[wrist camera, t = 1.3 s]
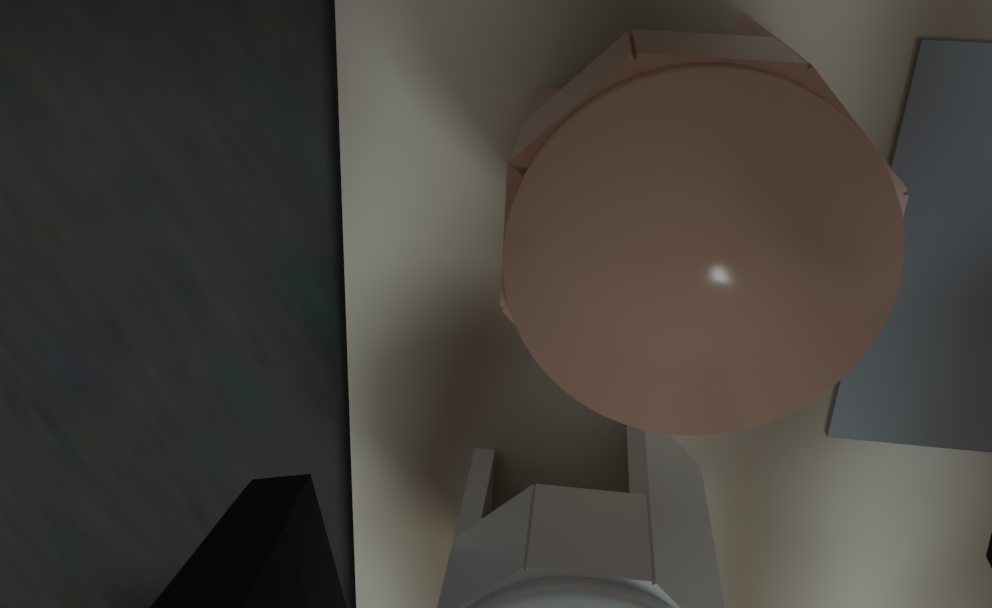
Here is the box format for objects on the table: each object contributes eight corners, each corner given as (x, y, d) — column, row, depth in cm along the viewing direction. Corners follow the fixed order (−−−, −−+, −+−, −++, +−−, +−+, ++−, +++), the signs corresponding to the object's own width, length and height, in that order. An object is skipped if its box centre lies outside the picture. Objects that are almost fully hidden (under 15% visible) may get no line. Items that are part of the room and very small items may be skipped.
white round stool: (711, 411, 21) (754, 617, 15) (680, 593, 23) (707, 833, 17) (477, 389, 21) (427, 580, 15) (470, 569, 23) (424, 796, 18)
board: (1508, -20, 16) (1571, -15, 15) (1145, 709, 24) (1169, 745, 23) (345, -76, 18) (330, -75, 17) (366, 618, 26) (356, 647, 25)
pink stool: (832, 17, 17) (956, 79, 11) (780, 283, 19) (859, 455, 13) (541, 1, 17) (507, 52, 11) (525, 263, 20) (491, 419, 14)
